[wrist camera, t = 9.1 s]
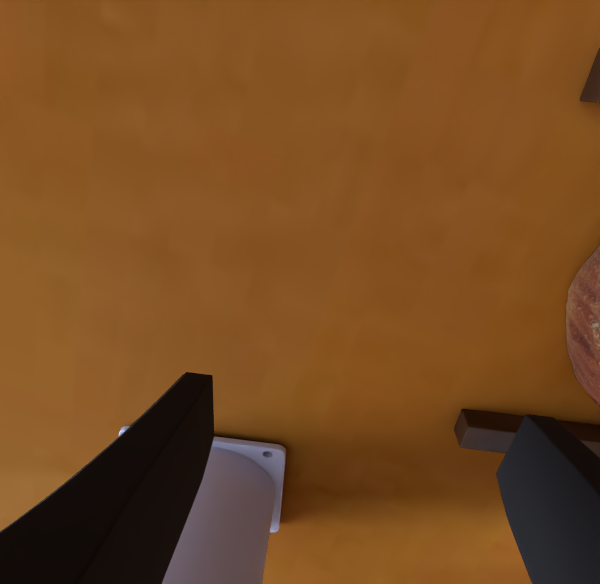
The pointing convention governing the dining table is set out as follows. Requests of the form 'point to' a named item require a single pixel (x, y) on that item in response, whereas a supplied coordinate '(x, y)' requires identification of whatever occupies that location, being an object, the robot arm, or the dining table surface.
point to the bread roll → (585, 325)
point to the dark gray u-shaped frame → (502, 428)
